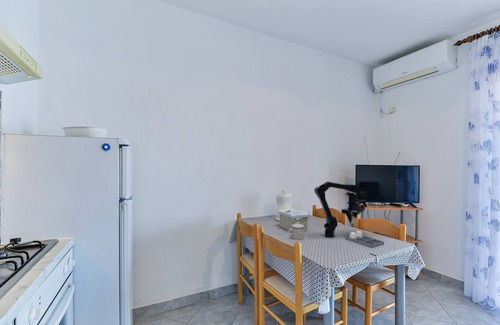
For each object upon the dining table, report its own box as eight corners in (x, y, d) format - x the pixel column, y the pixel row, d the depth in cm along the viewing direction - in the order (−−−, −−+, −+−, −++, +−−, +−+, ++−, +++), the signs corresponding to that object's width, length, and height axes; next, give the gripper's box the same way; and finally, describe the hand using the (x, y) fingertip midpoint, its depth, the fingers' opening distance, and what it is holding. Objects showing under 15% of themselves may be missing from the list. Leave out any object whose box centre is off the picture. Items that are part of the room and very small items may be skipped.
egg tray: (371, 249, 157) (371, 244, 157) (345, 240, 174) (345, 236, 174) (383, 245, 163) (383, 241, 163) (357, 237, 181) (357, 233, 181)
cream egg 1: (353, 241, 170) (353, 233, 170) (348, 239, 174) (348, 231, 174) (357, 240, 172) (357, 232, 172) (352, 238, 176) (352, 230, 176)
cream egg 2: (359, 239, 173) (359, 231, 173) (354, 238, 177) (354, 230, 177) (363, 238, 175) (363, 231, 175) (358, 237, 179) (358, 229, 179)
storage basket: (278, 226, 215) (277, 209, 215) (293, 224, 221) (293, 208, 221) (292, 233, 193) (292, 215, 193) (309, 231, 199) (309, 213, 199)
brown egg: (353, 224, 179) (353, 216, 179) (348, 223, 183) (348, 215, 183) (357, 223, 182) (357, 216, 182) (351, 222, 186) (351, 215, 185)
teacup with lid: (300, 235, 187) (300, 220, 187) (306, 239, 179) (306, 223, 179) (286, 237, 184) (286, 221, 184) (291, 240, 175) (291, 224, 175)
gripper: (353, 203, 171) (354, 226, 171) (369, 201, 180) (370, 222, 180) (340, 201, 180) (340, 222, 180) (356, 199, 190) (356, 219, 190)
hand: (352, 221), depth 182 cm, fingers closed on brown egg, 4 cm apart
